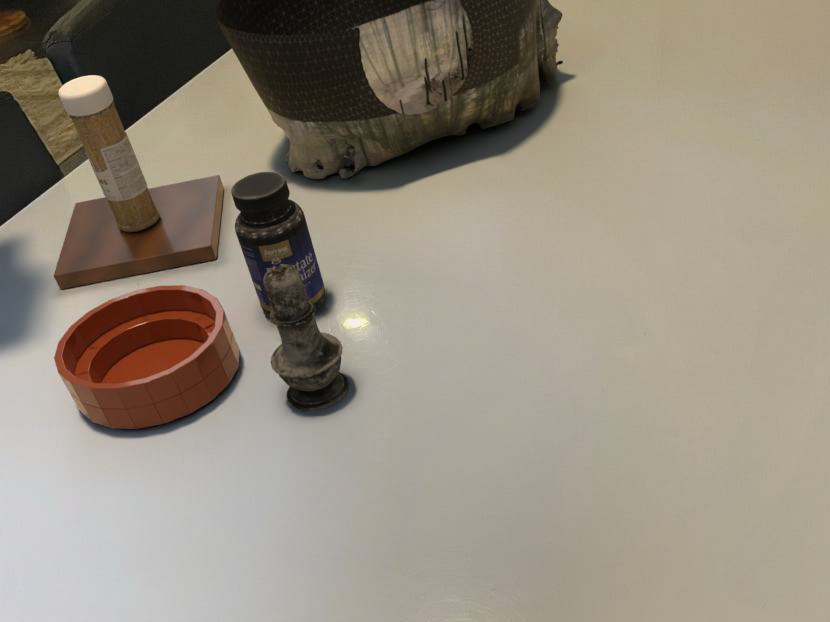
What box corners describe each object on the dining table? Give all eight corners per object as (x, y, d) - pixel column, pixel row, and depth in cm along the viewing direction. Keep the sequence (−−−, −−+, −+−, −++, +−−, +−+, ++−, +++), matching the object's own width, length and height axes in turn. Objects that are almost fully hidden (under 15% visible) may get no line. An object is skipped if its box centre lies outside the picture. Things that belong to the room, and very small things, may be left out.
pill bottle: (284, 330, 86) (244, 211, 77) (250, 305, 89) (208, 189, 81) (340, 299, 88) (307, 180, 79) (304, 276, 91) (269, 159, 83)
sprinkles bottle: (112, 223, 100) (50, 86, 90) (152, 206, 101) (95, 68, 91) (127, 239, 97) (65, 99, 87) (168, 221, 99) (111, 81, 88)
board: (60, 289, 96) (53, 276, 95) (81, 216, 105) (75, 202, 104) (216, 259, 95) (211, 245, 94) (224, 188, 105) (219, 174, 104)
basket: (587, 155, 98) (579, -28, 86) (254, 210, 101) (198, 39, 88) (557, 47, 116) (547, -118, 103) (275, 96, 118) (231, -60, 106)
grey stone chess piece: (274, 385, 81) (226, 253, 72) (339, 360, 82) (299, 226, 73) (295, 422, 77) (248, 288, 68) (362, 396, 78) (324, 260, 69)
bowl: (67, 446, 80) (41, 402, 76) (91, 346, 89) (68, 302, 85) (237, 414, 79) (218, 369, 76) (243, 317, 88) (227, 272, 85)
